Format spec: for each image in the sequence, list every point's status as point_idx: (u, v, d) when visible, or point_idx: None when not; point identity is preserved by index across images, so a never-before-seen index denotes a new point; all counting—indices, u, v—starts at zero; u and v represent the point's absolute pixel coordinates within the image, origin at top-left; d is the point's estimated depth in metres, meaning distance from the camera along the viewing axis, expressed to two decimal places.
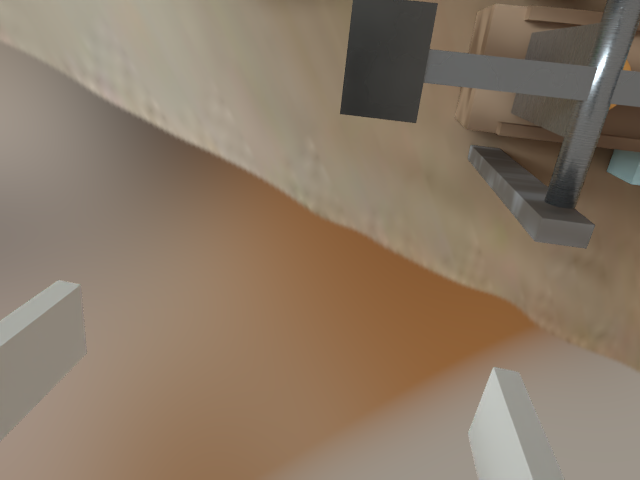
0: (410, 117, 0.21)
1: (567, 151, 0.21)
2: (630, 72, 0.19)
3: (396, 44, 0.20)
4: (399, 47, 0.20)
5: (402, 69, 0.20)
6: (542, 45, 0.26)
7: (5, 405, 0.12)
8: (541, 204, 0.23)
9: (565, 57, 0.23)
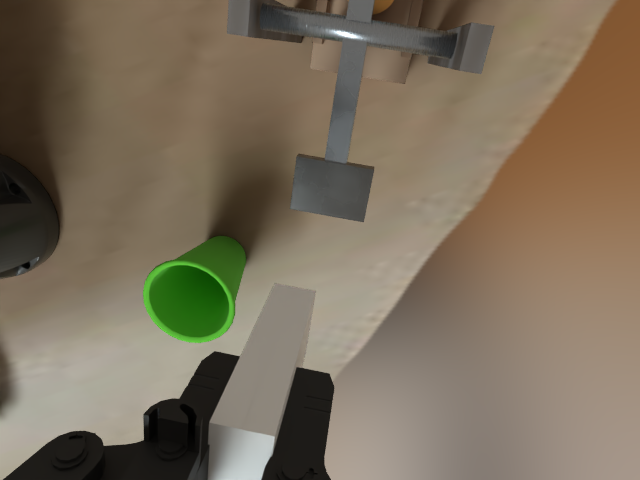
0: (369, 173, 0.28)
1: (406, 49, 0.25)
2: (348, 11, 0.25)
3: (320, 182, 0.29)
4: (322, 181, 0.29)
5: (336, 179, 0.29)
6: None
7: None
8: (456, 55, 0.26)
9: None
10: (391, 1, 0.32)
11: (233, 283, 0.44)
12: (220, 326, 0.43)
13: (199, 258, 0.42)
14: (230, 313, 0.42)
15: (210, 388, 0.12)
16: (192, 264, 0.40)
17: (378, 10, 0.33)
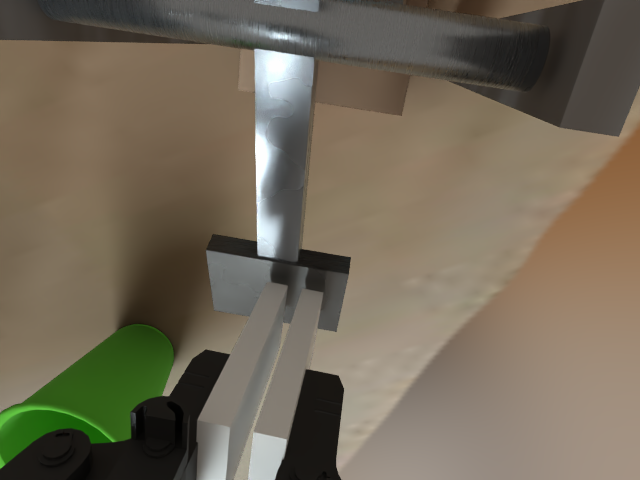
0: (341, 279, 0.15)
1: (412, 74, 0.10)
2: None
3: (255, 284, 0.16)
4: (258, 282, 0.16)
5: (282, 282, 0.16)
6: None
7: (258, 390, 0.13)
8: None
9: None
10: None
11: None
12: None
13: (77, 390, 0.26)
14: None
15: (200, 386, 0.12)
16: (58, 410, 0.25)
17: None
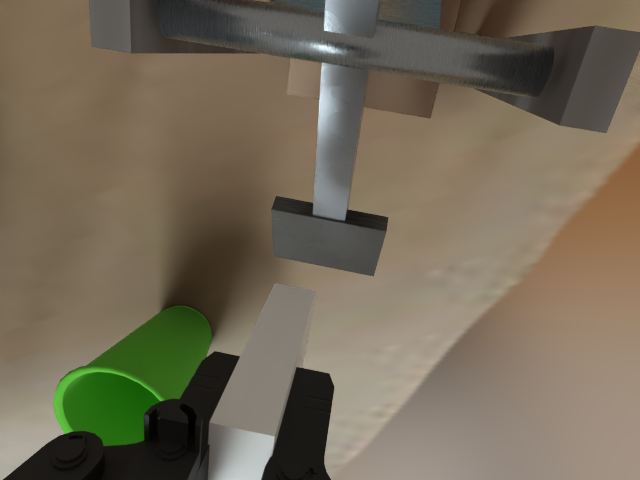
0: (379, 234, 0.19)
1: None
2: (326, 17, 0.12)
3: (309, 237, 0.20)
4: (312, 235, 0.20)
5: (332, 235, 0.20)
6: None
7: None
8: None
9: None
10: None
11: (183, 389, 0.31)
12: None
13: (133, 357, 0.30)
14: None
15: (210, 388, 0.12)
16: (117, 373, 0.28)
17: None
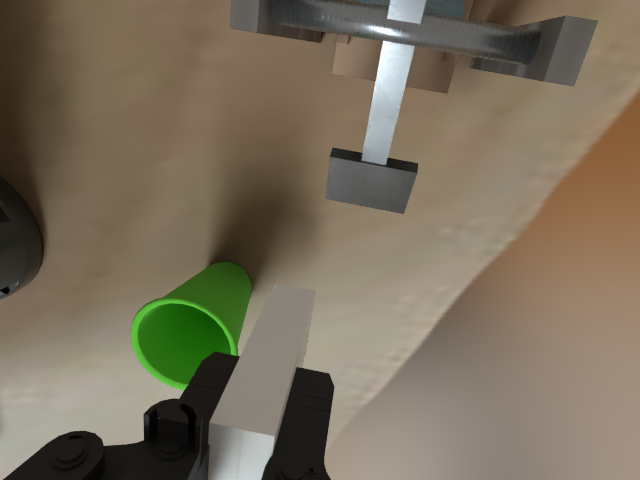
0: (412, 176, 0.25)
1: (466, 55, 0.19)
2: (390, 9, 0.18)
3: (356, 180, 0.26)
4: (359, 178, 0.26)
5: (374, 178, 0.26)
6: None
7: None
8: (532, 61, 0.20)
9: None
10: None
11: (236, 322, 0.37)
12: None
13: (197, 294, 0.36)
14: None
15: (210, 388, 0.12)
16: (188, 303, 0.34)
17: None
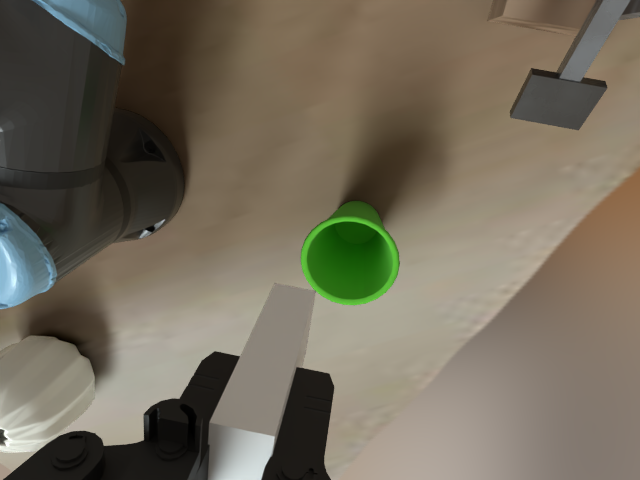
0: (601, 91, 0.30)
1: None
2: None
3: (548, 97, 0.31)
4: (550, 96, 0.31)
5: (565, 94, 0.31)
6: None
7: None
8: None
9: None
10: None
11: None
12: (377, 288, 0.42)
13: (361, 216, 0.41)
14: (393, 273, 0.40)
15: (210, 388, 0.12)
16: (361, 220, 0.39)
17: None
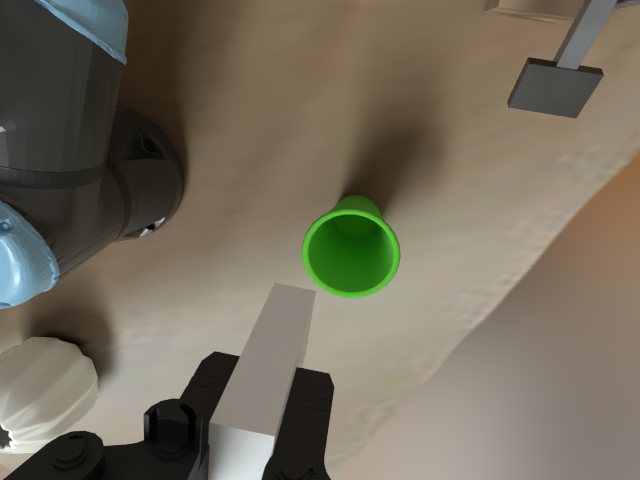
0: (597, 78, 0.30)
1: None
2: None
3: (545, 86, 0.32)
4: (547, 84, 0.31)
5: (562, 83, 0.31)
6: None
7: None
8: None
9: None
10: None
11: None
12: (378, 280, 0.42)
13: (361, 209, 0.41)
14: (394, 266, 0.41)
15: (210, 388, 0.12)
16: (361, 213, 0.39)
17: None
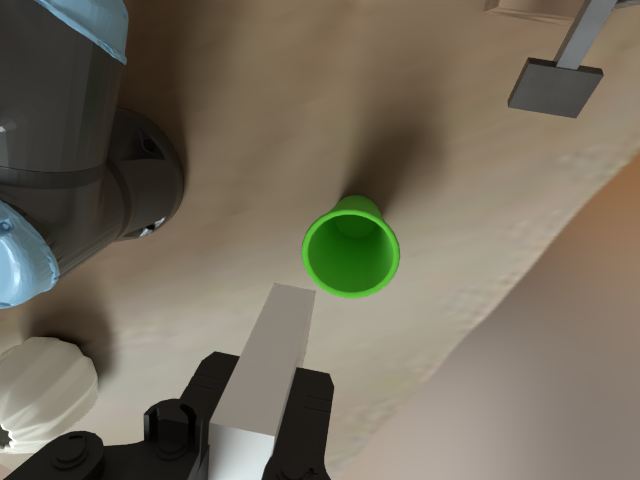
0: (597, 78, 0.30)
1: None
2: None
3: (545, 86, 0.32)
4: (547, 84, 0.31)
5: (562, 83, 0.31)
6: None
7: None
8: None
9: None
10: None
11: None
12: (378, 280, 0.42)
13: (361, 209, 0.41)
14: (393, 266, 0.41)
15: (210, 388, 0.12)
16: (361, 213, 0.39)
17: None
